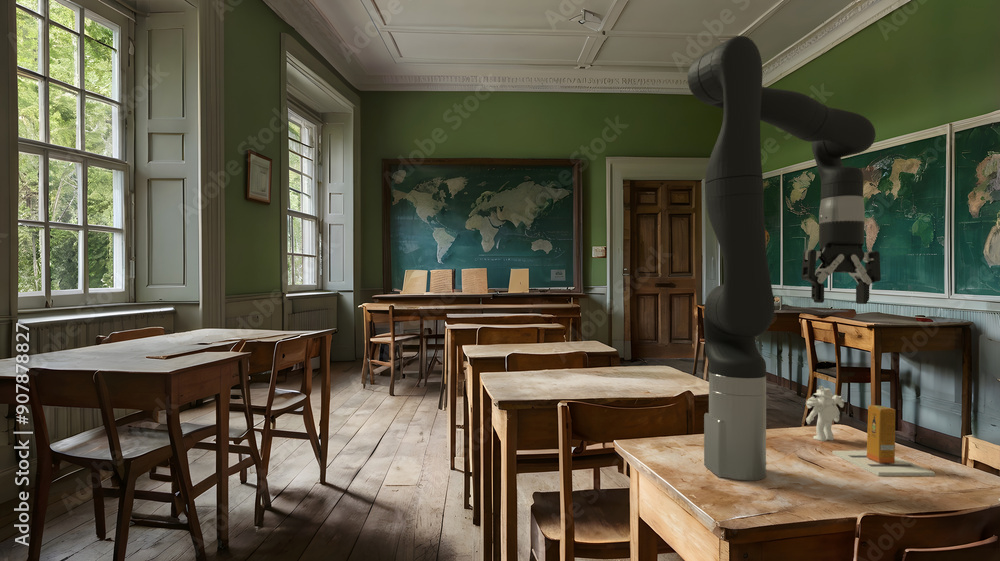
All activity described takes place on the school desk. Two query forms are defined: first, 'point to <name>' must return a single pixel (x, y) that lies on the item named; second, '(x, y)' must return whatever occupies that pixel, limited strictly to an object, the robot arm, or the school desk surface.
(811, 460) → the school desk surface
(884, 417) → the supplement box
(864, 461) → the letter pad
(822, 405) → the white toy figure
